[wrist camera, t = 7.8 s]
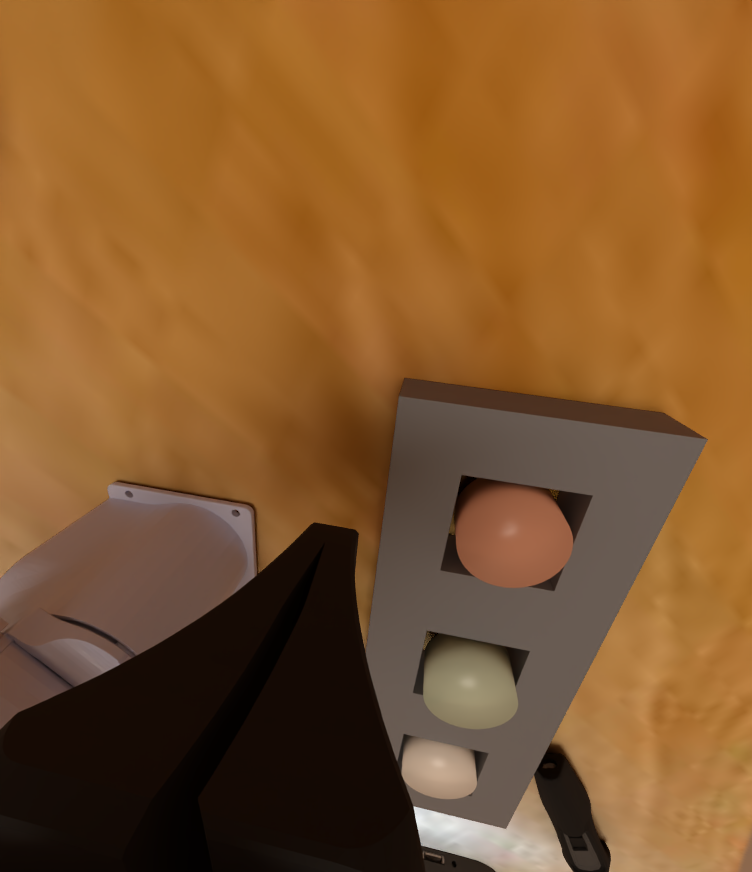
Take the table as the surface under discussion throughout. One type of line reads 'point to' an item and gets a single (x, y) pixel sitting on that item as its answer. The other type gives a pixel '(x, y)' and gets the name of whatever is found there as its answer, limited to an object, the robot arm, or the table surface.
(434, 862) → the media streaming box
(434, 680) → the sage button
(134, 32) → the table surface
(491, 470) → the button panel
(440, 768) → the cream button
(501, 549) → the terracotta button
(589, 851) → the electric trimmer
